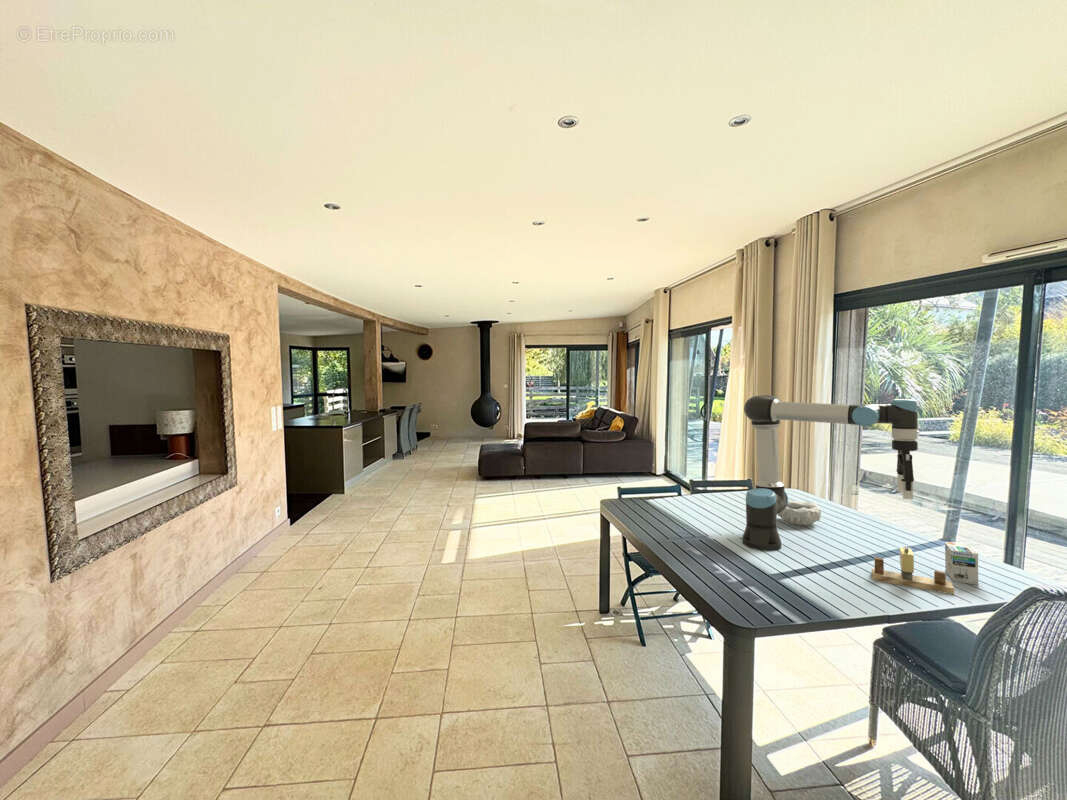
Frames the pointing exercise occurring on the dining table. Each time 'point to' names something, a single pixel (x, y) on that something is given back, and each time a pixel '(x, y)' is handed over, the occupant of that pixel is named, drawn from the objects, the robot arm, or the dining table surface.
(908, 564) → the lever cap
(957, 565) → the light bulb box
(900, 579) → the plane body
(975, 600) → the dining table surface
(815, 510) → the bowl
